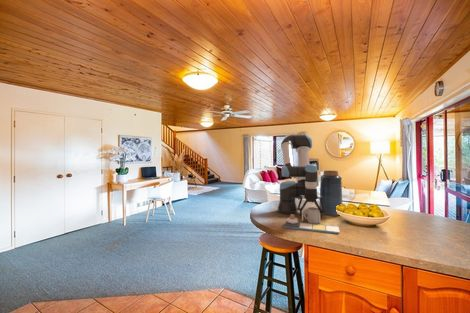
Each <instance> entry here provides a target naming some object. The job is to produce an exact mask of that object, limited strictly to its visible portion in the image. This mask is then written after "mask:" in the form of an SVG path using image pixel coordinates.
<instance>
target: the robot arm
mask: <svg viewBox="0 0 470 313" xmlns="http://www.w3.org/2000/svg"><path fill="white" fill-rule="evenodd" d="M312 147H313V142H312V137H311V136H310V135H309V134H290V135H287V136H286V137H284V139H283V140H282V141H281V143H280V149H281V150H282V159H283V165H282V166H281V177H285V178H299V179H298V180H297V182H296V181H294V180H288V181H287V180H286V181H282V182H280V183H279V203H278V205H277V212H278V213H280V214H284V215H291V214H294V215H295V214H298V213H299V216H301V222H303V221H304V216H303V212H304V208H305V207H306V205H307V203H314V204H315V206H316V208H318V209H319V223H318V224H321V219H323V214H322V213H323V212H325V208H324V205H323V202H322V196H321V197H320V195H318V165H317V164H314V163H313V164H312V163H311V164H310V152H311V149H313V148H312ZM293 150H295V152H297V159H298V161H297V163H298V166H297V165H296V166H295V161H294V153H293ZM296 199H299V202H298V206H297V203H296ZM303 199H305V201H304V202H303V204H302V201H303ZM317 200H319V202H320V203H321V206H322V209H323V210H321V208H320V206H319V205H320V204H318V201H317ZM301 205H302V206H301ZM298 211H299V212H298Z"/></svg>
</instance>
